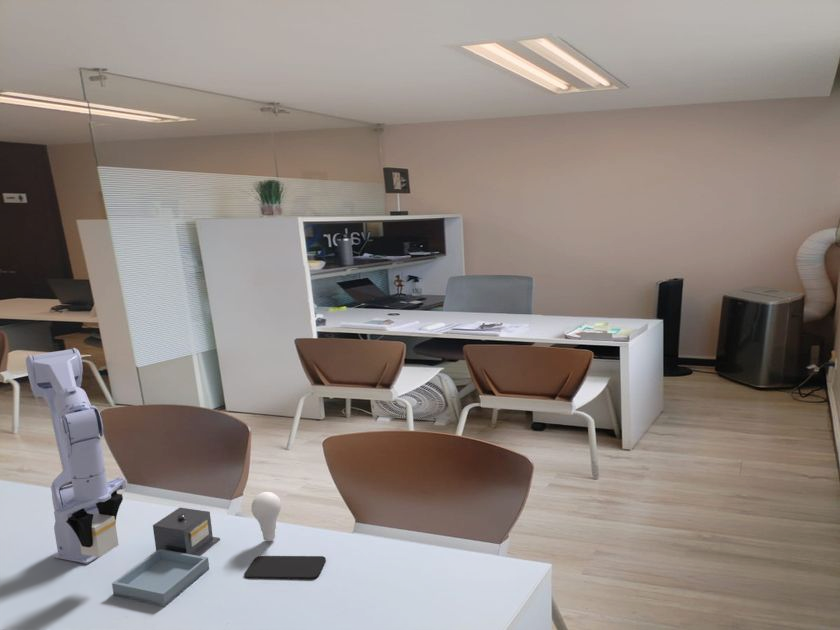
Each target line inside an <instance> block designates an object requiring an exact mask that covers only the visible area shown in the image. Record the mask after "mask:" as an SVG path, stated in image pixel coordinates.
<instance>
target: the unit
mask: <svg viewBox="0 0 840 630" xmlns="http://www.w3.org/2000/svg"><path fill="white" fill-rule="evenodd" d="M211 519H212V518H211V512H210V511H208V510H199V509H194V508H187V507H178V508H176V509H175V510H174V511H172V512H171V513H169V514H167V515H166V516H165V517H164V518H162V519H160V520H159V521H157V522H156V523H154V524H153V525H152V530H153V537H154V544H155V546H154V547H155V551H154V552H153V553H155V552H156V551H157V550H159V549H163V550H168V551H174V552H180V553H185V554H191V555H197V556H202V555H203V554H204V553H206V552H207V551H208V550H209V549H211V548H212V547H213V546H215V545H216V544H217V543H218V542H220V541H221V538H220V537H217V536H213V527H212V526H213V525H212V520H211ZM153 553H151V554H150V555H152V554H153Z"/></svg>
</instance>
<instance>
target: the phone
mask: <svg viewBox="0 0 840 630" xmlns="http://www.w3.org/2000/svg"><path fill="white" fill-rule="evenodd" d="M326 561H327V558H326V557H325V556H322V555H315V556H314V555H259V556H255V558H253V560H252V561H251V562H250V564H249V565H248V567H247V569H246V570H245V572H244V574H243V576H244V578H245V579H250V580H251V579H252V580H253V579H255V580H258V579H259V580H262V579H263V580H299V581H301V580H303V581H305V580H306V581H307V580H309V581H313V580H316V579H318V578H319V577H320V576H321V574H322V573H321V572H322V570H323V569H324V566H325V564H326Z"/></svg>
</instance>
